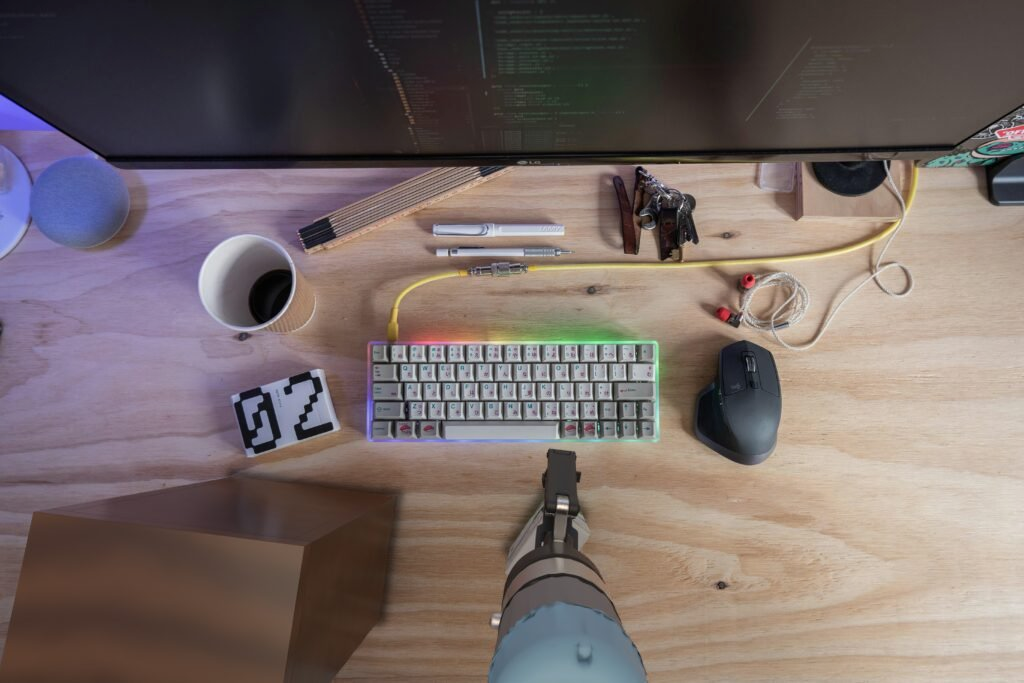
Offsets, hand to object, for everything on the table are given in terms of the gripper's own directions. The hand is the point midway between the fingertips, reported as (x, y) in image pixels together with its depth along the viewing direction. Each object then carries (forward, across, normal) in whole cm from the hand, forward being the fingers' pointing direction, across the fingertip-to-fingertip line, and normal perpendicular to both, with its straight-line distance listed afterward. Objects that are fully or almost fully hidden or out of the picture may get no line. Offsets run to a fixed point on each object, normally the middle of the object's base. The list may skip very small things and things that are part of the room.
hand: (548, 545), depth 61 cm
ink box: (+10, 0, 0) cm, 10 cm away
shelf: (-19, +5, -28) cm, 34 cm away
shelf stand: (+9, +5, -28) cm, 30 cm away
